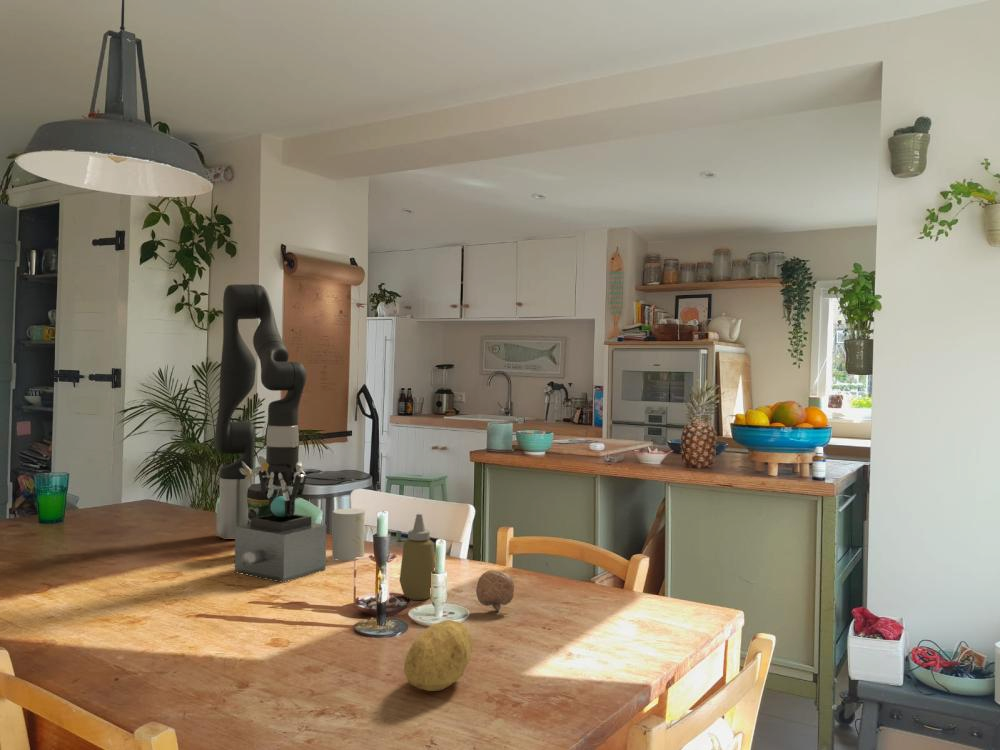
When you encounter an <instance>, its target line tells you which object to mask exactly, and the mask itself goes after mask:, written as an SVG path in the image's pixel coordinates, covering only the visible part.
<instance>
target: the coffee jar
mask: <svg viewBox="0 0 1000 750" xmlns="http://www.w3.org/2000/svg"><path fill="white" fill-rule="evenodd" d="M266 489H267V485H266ZM279 496H284V492H283V491H282V487H281V489H280V490H279V494H278V496H277V497H279ZM247 504H248V523H247V524H251V518H256V517H261V516H266V515H270V513H269V509H268V508H269V498H268V497H267V496H266V495H263V494H262V490H261V485H260V482H258V483H253V484H252V485H251V486H250V487H249V488H248V491H247Z"/></svg>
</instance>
